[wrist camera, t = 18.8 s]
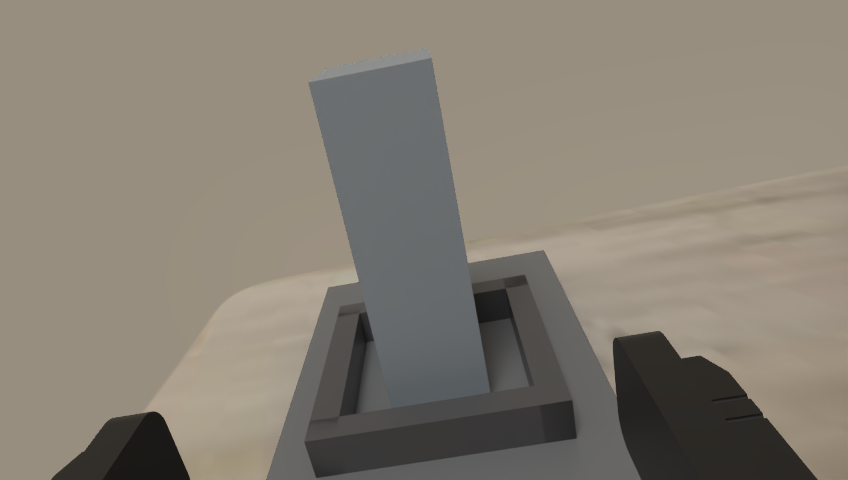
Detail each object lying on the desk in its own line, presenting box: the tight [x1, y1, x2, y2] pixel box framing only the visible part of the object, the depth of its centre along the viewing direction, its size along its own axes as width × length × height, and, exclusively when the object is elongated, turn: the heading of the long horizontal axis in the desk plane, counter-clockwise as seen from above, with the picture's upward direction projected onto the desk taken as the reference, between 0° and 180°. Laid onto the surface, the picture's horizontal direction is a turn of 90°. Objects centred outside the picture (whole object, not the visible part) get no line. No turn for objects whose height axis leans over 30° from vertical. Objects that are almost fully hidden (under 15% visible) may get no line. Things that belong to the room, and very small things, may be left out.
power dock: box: [266, 250, 641, 480], centre depth 23 cm, size 12×20×3 cm, turn 0°
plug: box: [309, 48, 491, 408], centre depth 21 cm, size 4×4×12 cm
